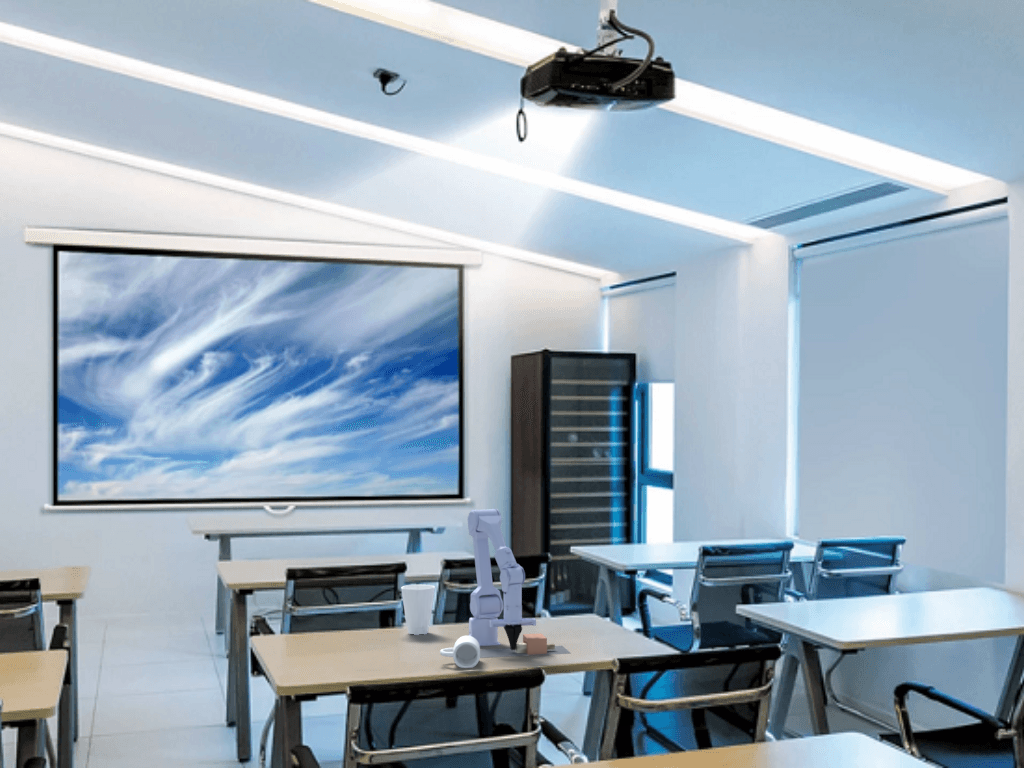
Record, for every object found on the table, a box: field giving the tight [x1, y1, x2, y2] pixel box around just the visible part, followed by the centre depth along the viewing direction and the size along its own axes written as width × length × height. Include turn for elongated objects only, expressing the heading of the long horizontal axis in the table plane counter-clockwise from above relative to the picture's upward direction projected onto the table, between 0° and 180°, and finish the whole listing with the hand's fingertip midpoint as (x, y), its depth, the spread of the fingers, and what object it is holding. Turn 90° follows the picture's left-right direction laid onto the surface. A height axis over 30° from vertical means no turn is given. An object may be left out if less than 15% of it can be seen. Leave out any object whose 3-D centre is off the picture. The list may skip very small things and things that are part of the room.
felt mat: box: [480, 645, 571, 659], centre depth 331 cm, size 32×12×1 cm, turn 101°
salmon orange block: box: [522, 633, 548, 656], centre depth 332 cm, size 6×8×5 cm
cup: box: [400, 583, 436, 636], centre depth 366 cm, size 12×12×16 cm
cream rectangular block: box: [516, 642, 556, 653], centre depth 332 cm, size 12×3×3 cm, turn 101°
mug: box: [439, 635, 481, 669], centre depth 315 cm, size 12×10×8 cm
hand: (513, 649), depth 330 cm, fingers closed
